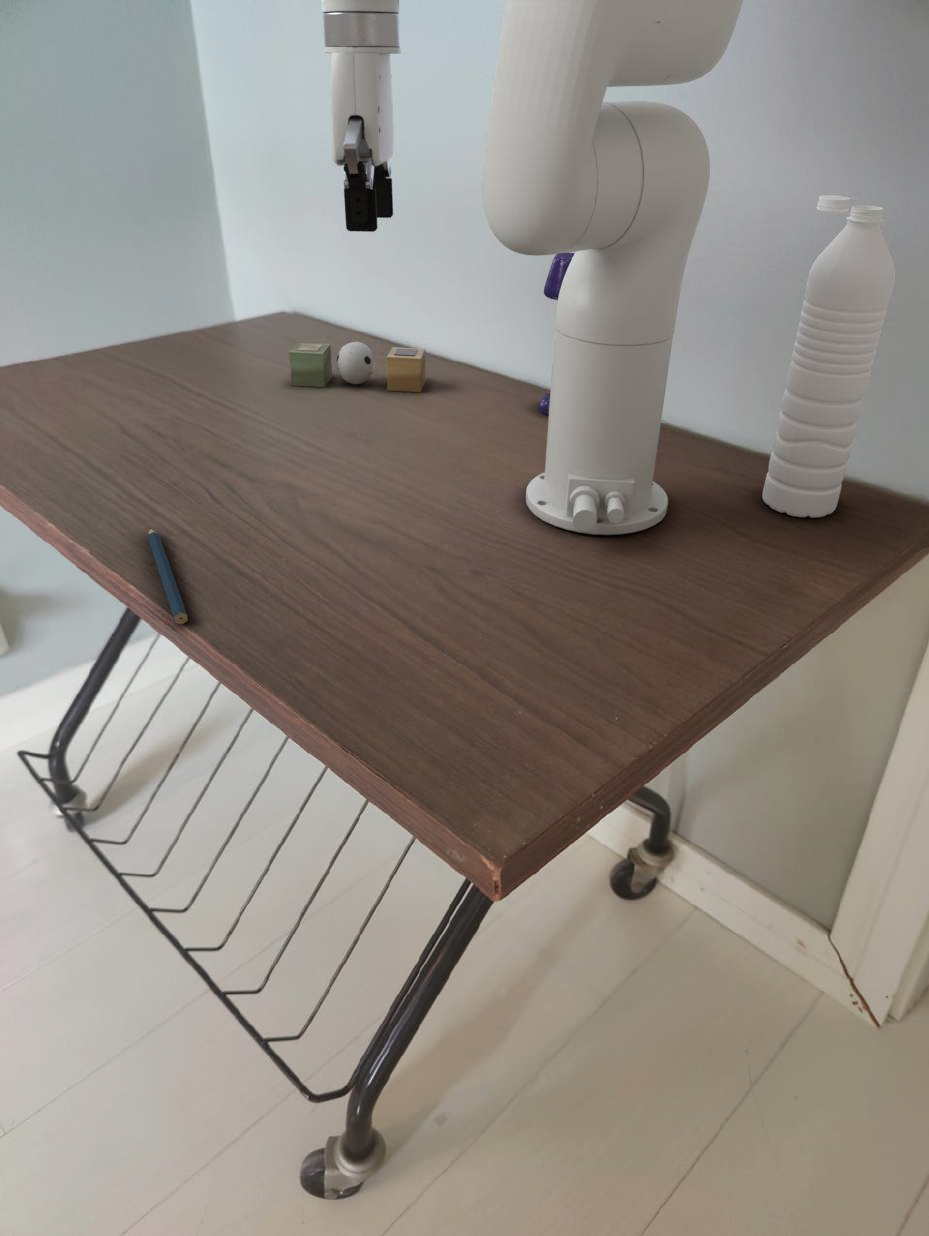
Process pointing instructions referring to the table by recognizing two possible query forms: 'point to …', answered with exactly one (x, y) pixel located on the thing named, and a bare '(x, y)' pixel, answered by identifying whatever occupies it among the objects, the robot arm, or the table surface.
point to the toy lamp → (552, 292)
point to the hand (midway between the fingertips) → (370, 223)
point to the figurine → (356, 363)
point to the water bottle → (830, 364)
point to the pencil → (167, 578)
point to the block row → (316, 367)
